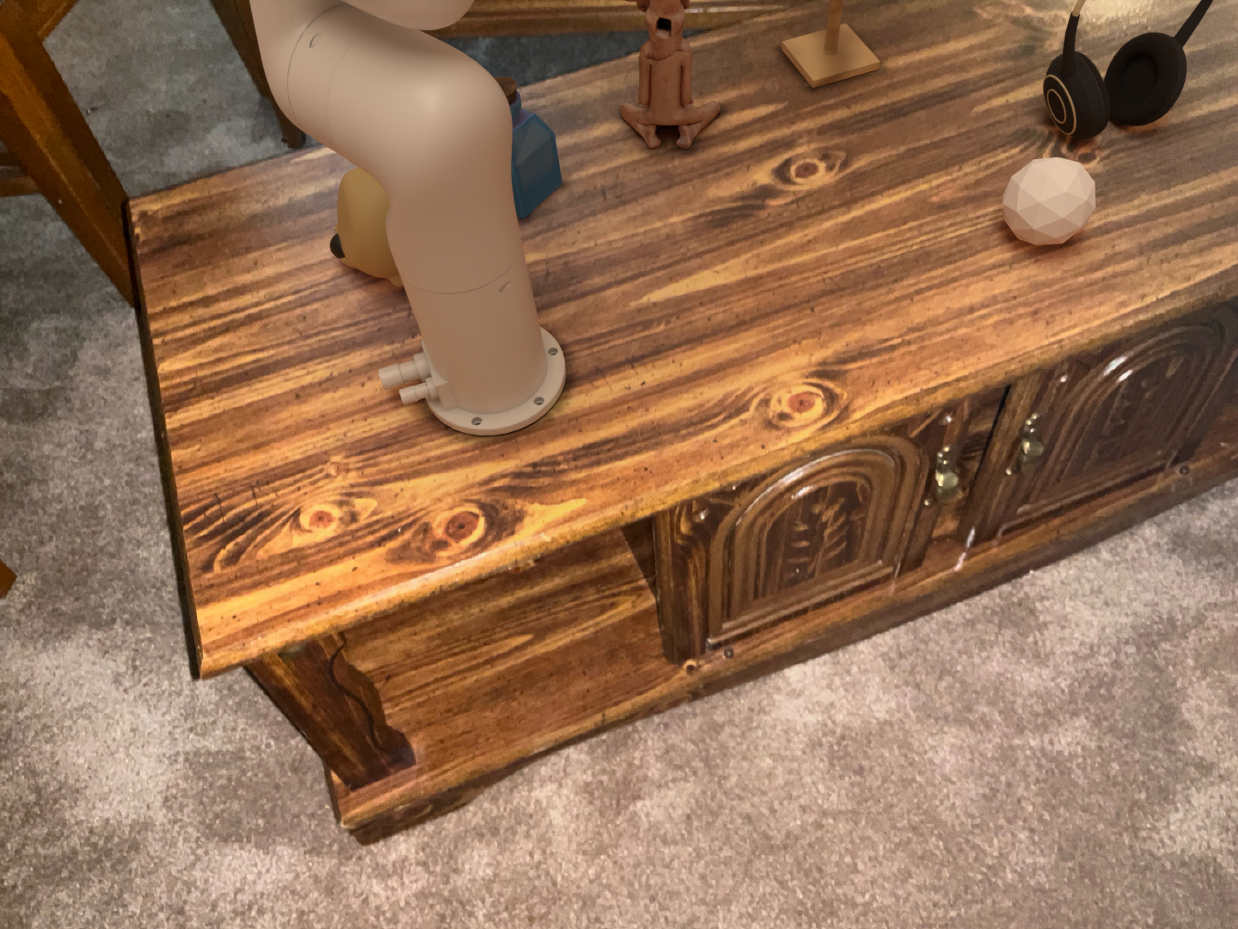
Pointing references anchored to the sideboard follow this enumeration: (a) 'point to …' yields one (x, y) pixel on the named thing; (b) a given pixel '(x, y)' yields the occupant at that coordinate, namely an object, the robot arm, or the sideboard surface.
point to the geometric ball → (1049, 200)
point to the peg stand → (830, 52)
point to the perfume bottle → (530, 154)
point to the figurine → (666, 77)
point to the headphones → (1118, 80)
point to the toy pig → (363, 227)
